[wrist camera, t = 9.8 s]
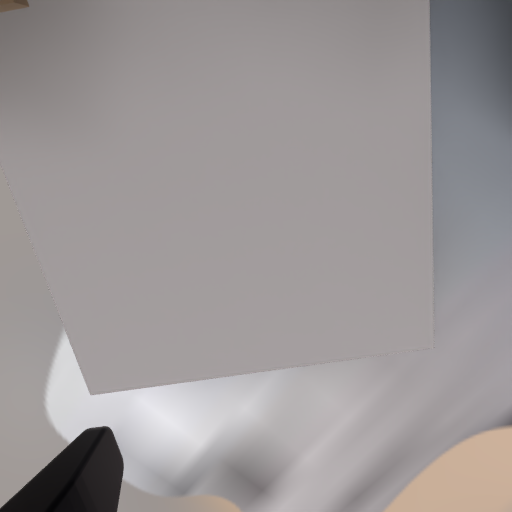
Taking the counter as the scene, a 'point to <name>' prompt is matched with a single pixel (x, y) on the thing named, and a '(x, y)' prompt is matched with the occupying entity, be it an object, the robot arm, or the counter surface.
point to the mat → (223, 180)
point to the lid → (12, 5)
